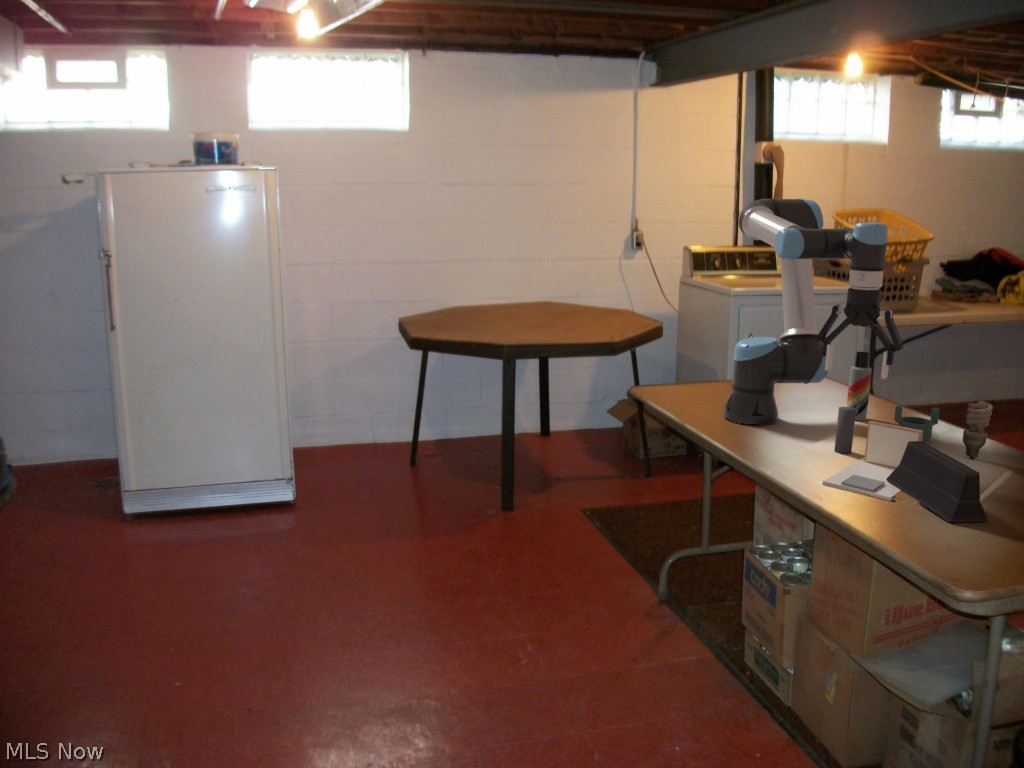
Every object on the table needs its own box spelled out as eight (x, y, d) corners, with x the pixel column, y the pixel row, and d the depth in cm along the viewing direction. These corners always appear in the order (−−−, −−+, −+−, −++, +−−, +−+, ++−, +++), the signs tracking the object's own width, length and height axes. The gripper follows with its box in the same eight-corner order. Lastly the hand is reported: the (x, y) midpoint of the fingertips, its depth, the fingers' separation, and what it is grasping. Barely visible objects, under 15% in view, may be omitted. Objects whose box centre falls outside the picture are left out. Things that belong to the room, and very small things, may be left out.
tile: (864, 461, 209) (868, 422, 207) (866, 460, 211) (871, 420, 208) (915, 473, 202) (920, 432, 199) (918, 471, 203) (923, 430, 201)
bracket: (938, 440, 231) (942, 408, 229) (916, 445, 226) (920, 412, 224) (908, 432, 238) (912, 401, 236) (886, 436, 234) (890, 404, 232)
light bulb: (988, 460, 215) (996, 401, 211) (980, 464, 211) (989, 405, 208) (964, 454, 219) (972, 397, 215) (956, 459, 215) (964, 400, 211)
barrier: (885, 479, 196) (892, 438, 194) (920, 479, 198) (928, 437, 195) (949, 522, 174) (958, 476, 171) (988, 522, 175) (998, 475, 172)
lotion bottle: (845, 419, 250) (852, 351, 245) (845, 415, 255) (852, 348, 250) (866, 422, 248) (873, 353, 243) (866, 417, 253) (873, 350, 248)
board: (822, 484, 196) (823, 478, 196) (866, 458, 215) (866, 453, 214) (890, 500, 186) (891, 494, 186) (929, 472, 205) (930, 466, 204)
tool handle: (831, 454, 217) (836, 408, 215) (837, 451, 220) (842, 405, 217) (847, 458, 215) (852, 411, 212) (853, 454, 218) (858, 408, 215)
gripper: (808, 284, 213) (800, 368, 218) (914, 294, 198) (903, 384, 202) (819, 282, 219) (811, 364, 224) (924, 291, 203) (913, 378, 208)
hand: (855, 373), depth 213 cm, fingers open, 13 cm apart
